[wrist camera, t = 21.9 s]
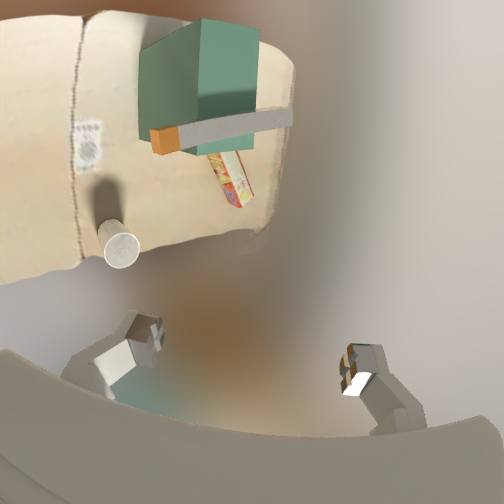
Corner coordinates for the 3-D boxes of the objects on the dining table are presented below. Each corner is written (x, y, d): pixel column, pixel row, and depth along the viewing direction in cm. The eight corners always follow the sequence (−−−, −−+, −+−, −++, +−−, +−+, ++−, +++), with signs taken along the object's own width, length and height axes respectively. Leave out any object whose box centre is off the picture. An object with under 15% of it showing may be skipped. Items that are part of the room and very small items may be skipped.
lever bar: (153, 152, 31) (161, 155, 29) (149, 129, 29) (158, 131, 28) (279, 123, 42) (292, 125, 40) (279, 106, 41) (292, 108, 39)
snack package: (243, 191, 79) (259, 198, 75) (226, 205, 77) (241, 212, 73) (217, 127, 64) (233, 130, 60) (196, 140, 62) (211, 144, 58)
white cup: (115, 209, 56) (127, 224, 49) (132, 234, 61) (146, 252, 55) (88, 230, 53) (96, 249, 47) (107, 254, 59) (118, 275, 52)
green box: (139, 139, 52) (197, 155, 36) (139, 52, 42) (201, 18, 25) (180, 133, 58) (253, 148, 41) (181, 52, 47) (259, 29, 31)
